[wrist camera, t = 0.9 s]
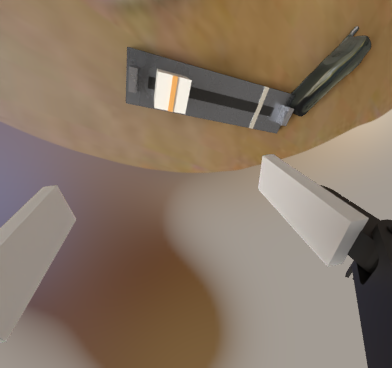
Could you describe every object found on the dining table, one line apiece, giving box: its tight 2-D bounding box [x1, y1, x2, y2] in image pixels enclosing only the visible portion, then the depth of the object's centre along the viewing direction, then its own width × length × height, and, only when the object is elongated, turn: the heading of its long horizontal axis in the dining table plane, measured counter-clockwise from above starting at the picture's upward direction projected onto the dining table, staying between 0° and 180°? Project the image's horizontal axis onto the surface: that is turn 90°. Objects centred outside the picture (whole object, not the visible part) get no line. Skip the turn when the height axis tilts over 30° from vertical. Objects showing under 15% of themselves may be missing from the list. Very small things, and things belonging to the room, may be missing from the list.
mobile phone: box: [290, 26, 371, 116], centre depth 30 cm, size 5×3×15 cm
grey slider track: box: [126, 47, 295, 133], centre depth 29 cm, size 7×28×4 cm, turn 77°
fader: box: [154, 69, 192, 114], centre depth 24 cm, size 4×4×6 cm
